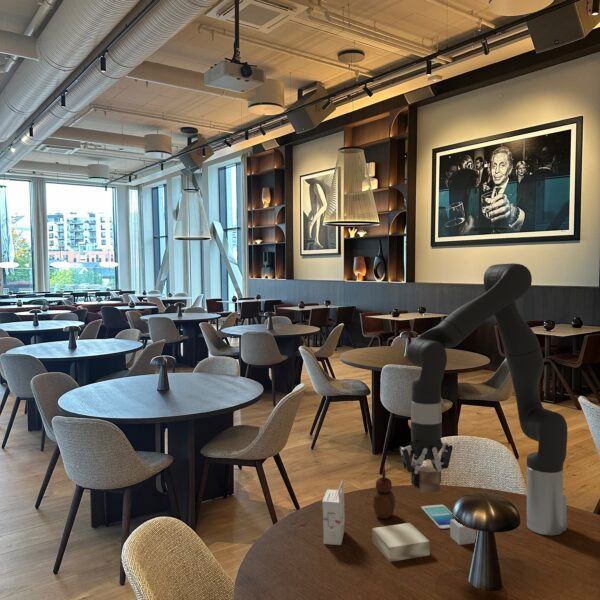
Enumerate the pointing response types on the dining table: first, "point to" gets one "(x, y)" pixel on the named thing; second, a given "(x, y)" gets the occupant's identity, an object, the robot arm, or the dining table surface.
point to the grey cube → (461, 533)
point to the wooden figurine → (383, 497)
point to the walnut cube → (429, 479)
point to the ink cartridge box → (333, 516)
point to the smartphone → (439, 515)
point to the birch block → (400, 542)
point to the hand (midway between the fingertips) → (426, 485)
